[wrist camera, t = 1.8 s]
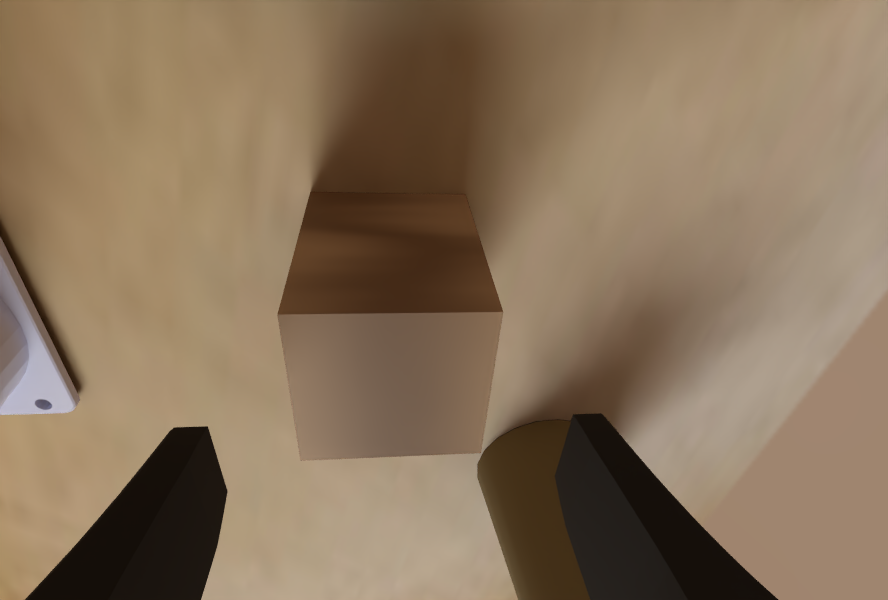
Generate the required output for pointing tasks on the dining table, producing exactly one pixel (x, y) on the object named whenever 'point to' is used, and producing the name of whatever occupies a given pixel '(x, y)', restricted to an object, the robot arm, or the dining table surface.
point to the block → (389, 327)
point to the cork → (531, 511)
